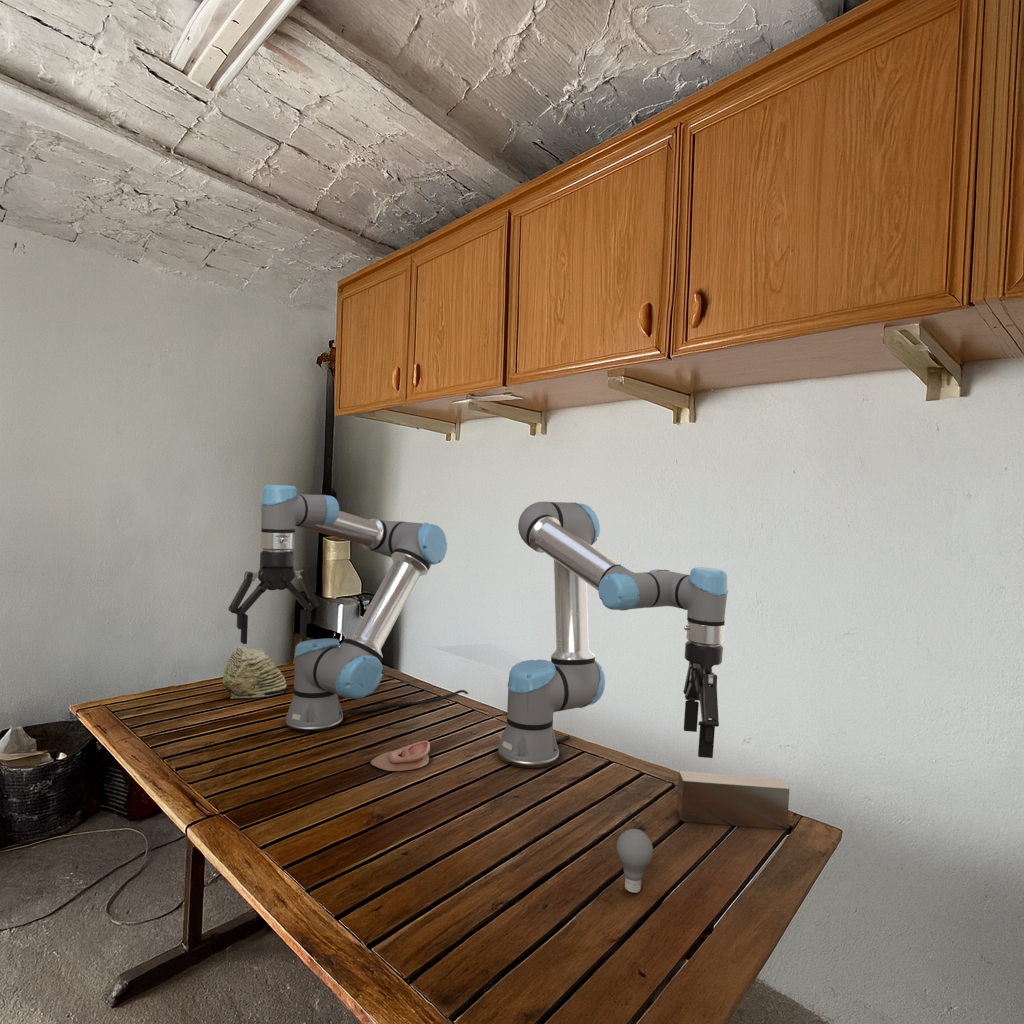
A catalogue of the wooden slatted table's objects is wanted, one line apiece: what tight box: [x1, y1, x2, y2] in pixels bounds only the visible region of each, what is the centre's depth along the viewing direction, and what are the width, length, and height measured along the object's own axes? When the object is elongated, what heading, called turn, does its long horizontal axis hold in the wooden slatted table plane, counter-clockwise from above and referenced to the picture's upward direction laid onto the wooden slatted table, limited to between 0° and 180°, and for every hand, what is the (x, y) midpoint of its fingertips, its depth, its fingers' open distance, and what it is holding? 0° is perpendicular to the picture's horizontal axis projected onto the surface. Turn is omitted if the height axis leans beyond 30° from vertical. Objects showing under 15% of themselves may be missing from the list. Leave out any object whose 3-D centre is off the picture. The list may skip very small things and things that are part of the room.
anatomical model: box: [370, 740, 431, 772], centre depth 153 cm, size 13×4×12 cm
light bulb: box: [615, 828, 654, 894], centre depth 106 cm, size 6×6×10 cm
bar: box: [676, 770, 790, 831], centre depth 132 cm, size 21×5×8 cm, turn 86°
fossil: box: [222, 646, 288, 699], centre depth 198 cm, size 9×18×15 cm, turn 132°
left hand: (274, 640), depth 150 cm, fingers open, 13 cm apart
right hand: (697, 743), depth 132 cm, fingers open, 13 cm apart
